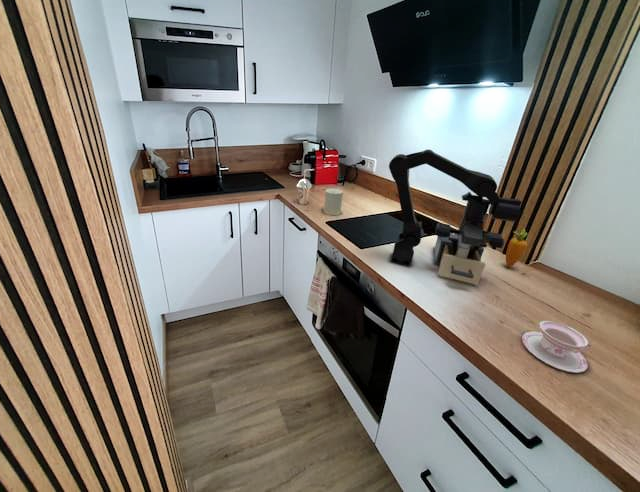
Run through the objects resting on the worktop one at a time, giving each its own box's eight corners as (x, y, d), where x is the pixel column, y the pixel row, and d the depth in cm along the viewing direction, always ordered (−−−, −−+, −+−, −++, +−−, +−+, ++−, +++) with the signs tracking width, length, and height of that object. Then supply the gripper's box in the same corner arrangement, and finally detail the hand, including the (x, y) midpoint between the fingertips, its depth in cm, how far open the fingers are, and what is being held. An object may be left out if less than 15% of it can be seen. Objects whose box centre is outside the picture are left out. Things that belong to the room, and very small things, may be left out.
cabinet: (475, 273, 100) (484, 249, 96) (434, 264, 105) (441, 240, 101) (470, 255, 111) (478, 233, 107) (434, 248, 116) (440, 226, 112)
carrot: (510, 271, 101) (525, 234, 95) (496, 264, 106) (511, 228, 100) (520, 270, 103) (536, 232, 97) (506, 262, 107) (521, 226, 101)
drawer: (479, 291, 89) (487, 270, 85) (437, 281, 93) (444, 260, 90) (472, 266, 102) (479, 246, 99) (437, 258, 107) (442, 239, 104)
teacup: (523, 356, 67) (533, 337, 65) (519, 326, 77) (527, 308, 74) (593, 383, 61) (607, 363, 59) (579, 347, 71) (591, 328, 68)
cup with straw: (302, 199, 167) (304, 165, 159) (314, 203, 162) (317, 168, 153) (292, 202, 162) (294, 167, 154) (304, 206, 156) (307, 170, 148)
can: (321, 213, 147) (323, 191, 142) (324, 207, 155) (326, 186, 151) (339, 216, 145) (342, 193, 140) (341, 210, 153) (344, 188, 148)
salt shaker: (454, 261, 96) (458, 246, 94) (453, 256, 99) (457, 242, 97) (466, 263, 95) (471, 249, 93) (465, 258, 98) (470, 244, 96)
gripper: (442, 217, 87) (430, 261, 94) (516, 230, 80) (497, 277, 86) (441, 206, 96) (430, 247, 103) (507, 217, 89) (491, 260, 95)
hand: (460, 257), depth 97 cm, fingers closed on salt shaker, 3 cm apart
